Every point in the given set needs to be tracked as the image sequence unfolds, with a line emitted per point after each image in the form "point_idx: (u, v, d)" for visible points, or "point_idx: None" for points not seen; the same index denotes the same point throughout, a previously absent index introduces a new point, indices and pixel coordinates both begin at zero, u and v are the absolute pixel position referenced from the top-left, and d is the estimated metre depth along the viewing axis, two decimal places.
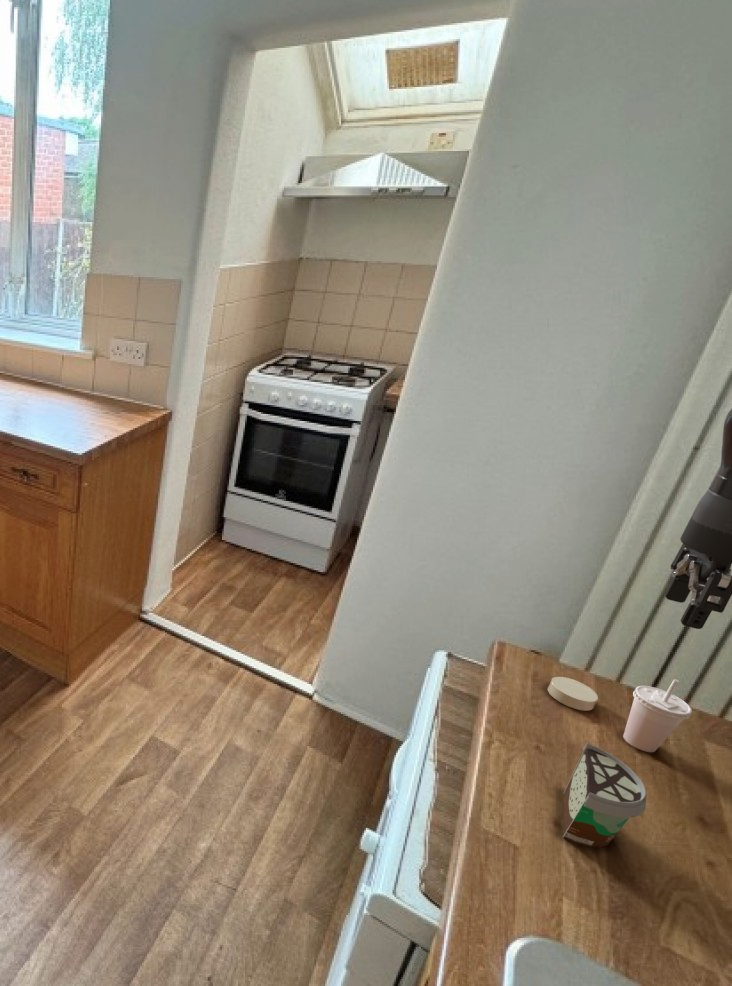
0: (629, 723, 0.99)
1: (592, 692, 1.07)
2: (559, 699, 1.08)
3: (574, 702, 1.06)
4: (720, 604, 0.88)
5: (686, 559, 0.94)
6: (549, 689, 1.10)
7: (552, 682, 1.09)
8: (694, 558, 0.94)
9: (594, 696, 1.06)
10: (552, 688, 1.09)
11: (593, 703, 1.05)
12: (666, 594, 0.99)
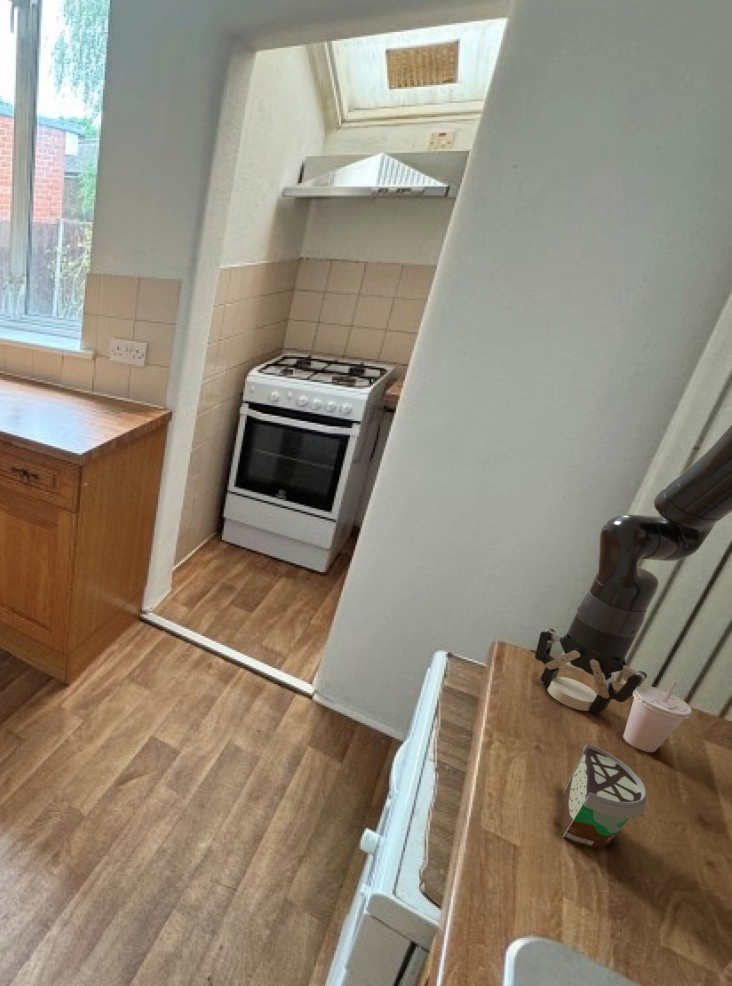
0: (629, 723, 0.99)
1: (592, 692, 1.07)
2: (559, 699, 1.08)
3: (574, 702, 1.06)
4: None
5: (578, 656, 1.05)
6: (549, 689, 1.10)
7: (552, 682, 1.09)
8: (582, 653, 1.05)
9: (594, 696, 1.06)
10: (552, 688, 1.09)
11: None
12: (546, 684, 1.11)
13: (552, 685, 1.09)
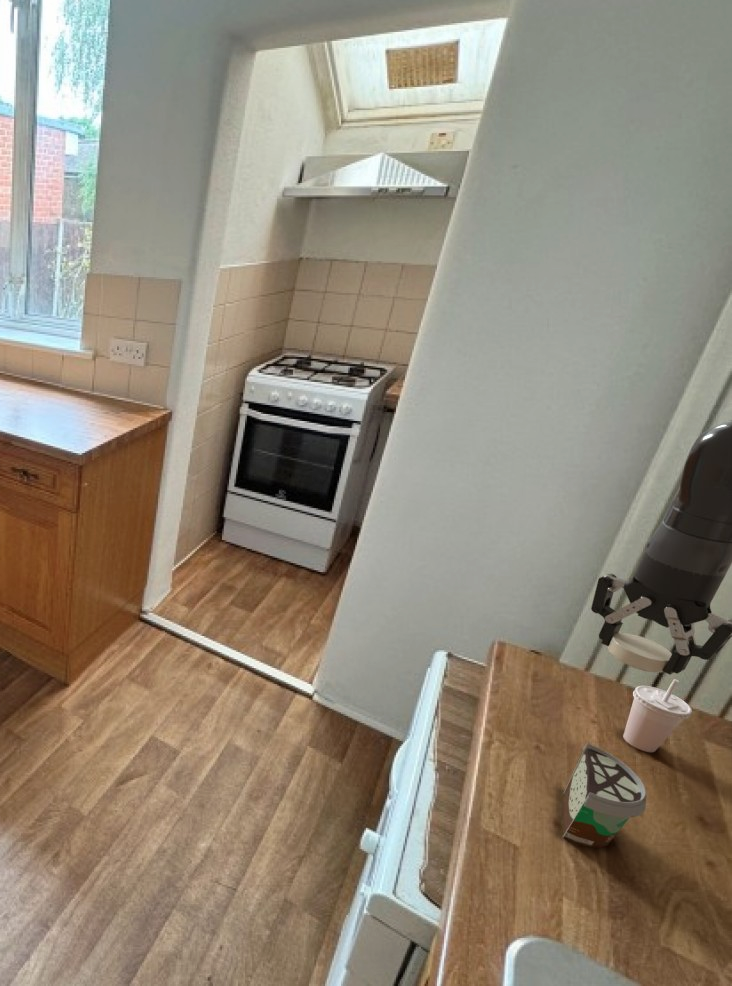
0: (629, 723, 0.99)
1: (665, 650, 0.87)
2: (623, 659, 0.87)
3: (643, 662, 0.85)
4: None
5: (648, 604, 0.85)
6: (610, 647, 0.89)
7: (614, 639, 0.89)
8: (653, 600, 0.85)
9: (669, 655, 0.86)
10: (614, 646, 0.89)
11: None
12: (606, 641, 0.90)
13: (614, 642, 0.89)
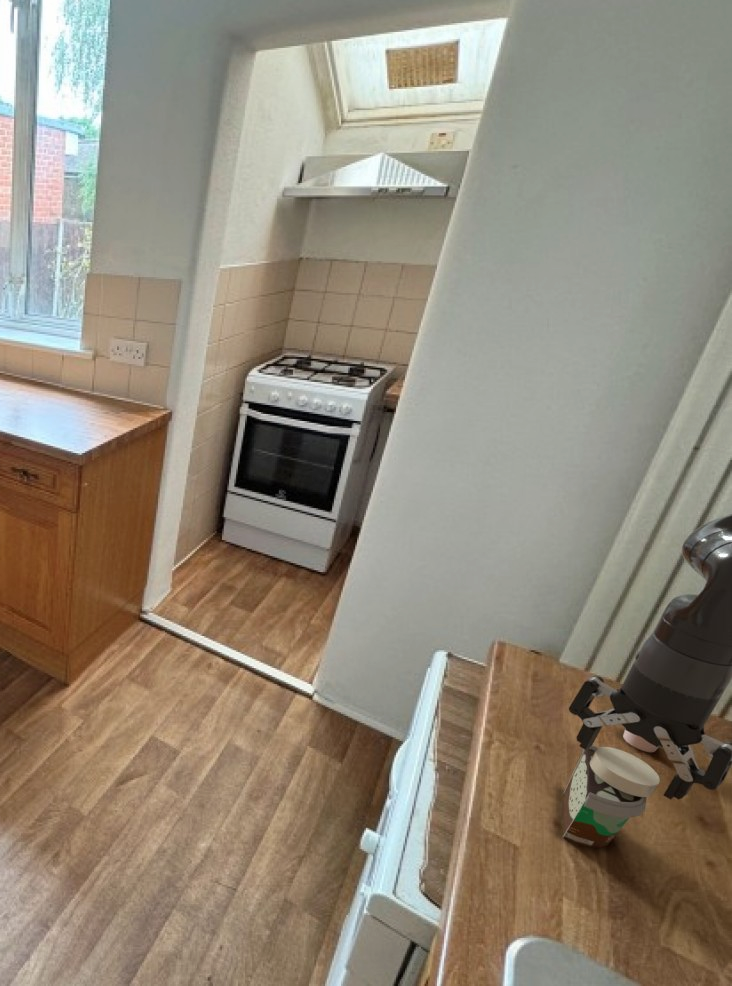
0: None
1: (651, 771, 0.80)
2: (607, 780, 0.80)
3: (628, 785, 0.79)
4: None
5: (635, 720, 0.78)
6: (592, 764, 0.82)
7: (596, 755, 0.82)
8: (642, 716, 0.78)
9: (655, 777, 0.79)
10: (596, 764, 0.82)
11: (654, 787, 0.78)
12: (584, 745, 0.84)
13: (596, 760, 0.82)
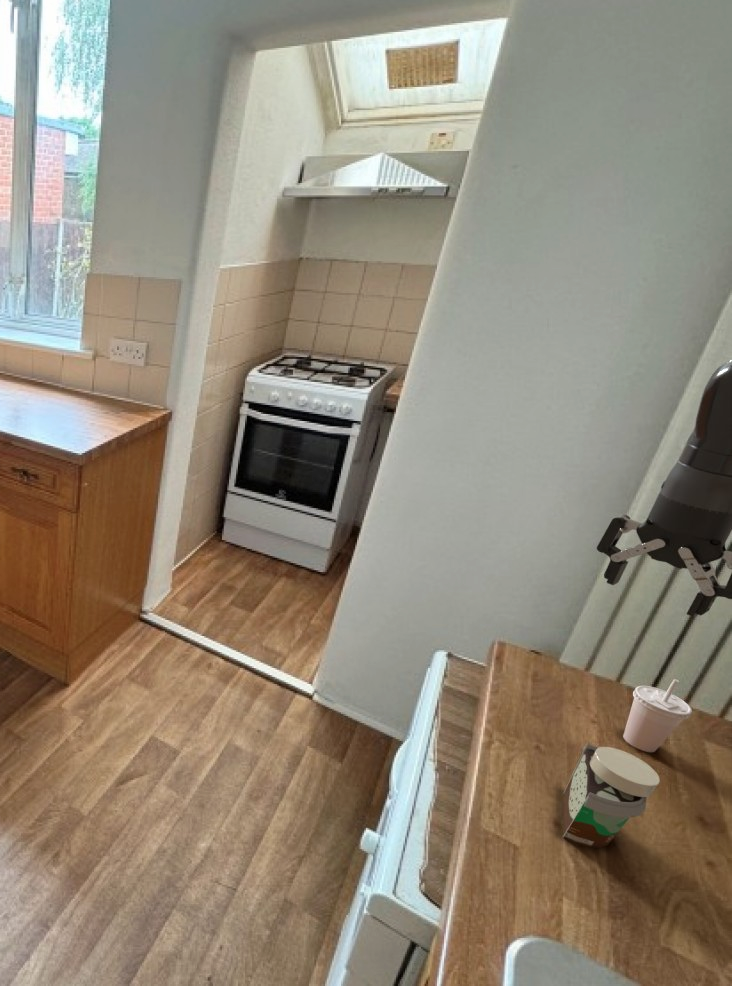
0: (629, 723, 0.99)
1: (651, 771, 0.80)
2: (607, 780, 0.80)
3: (628, 785, 0.79)
4: None
5: (661, 545, 0.84)
6: (592, 764, 0.82)
7: (596, 755, 0.82)
8: (667, 542, 0.84)
9: (655, 777, 0.79)
10: (596, 764, 0.82)
11: (654, 787, 0.78)
12: (611, 581, 0.90)
13: (596, 760, 0.82)
